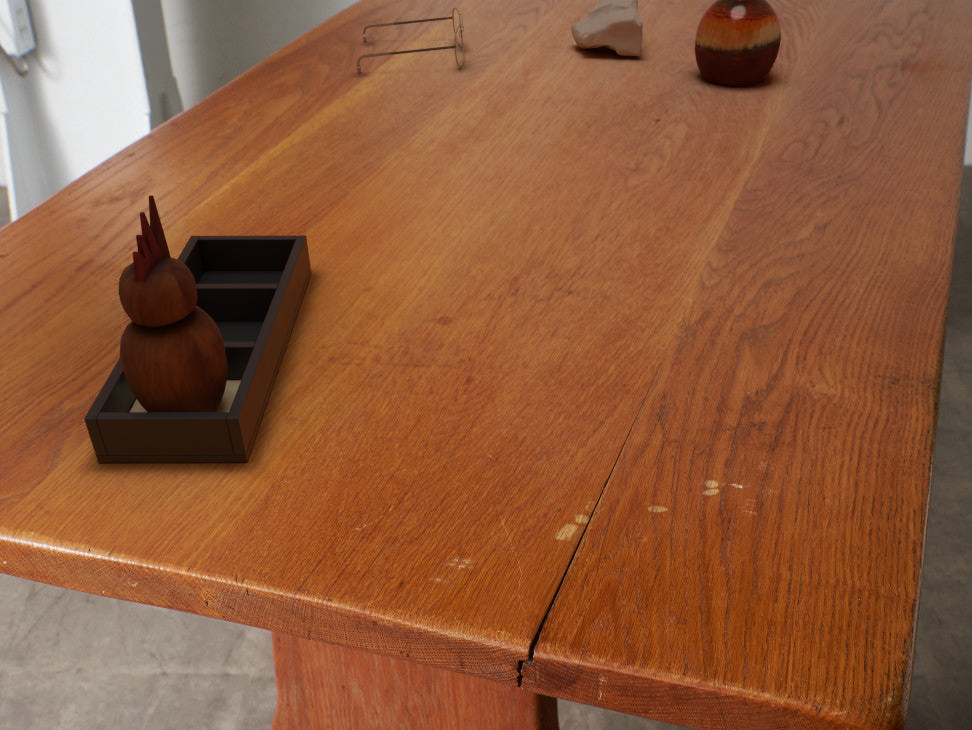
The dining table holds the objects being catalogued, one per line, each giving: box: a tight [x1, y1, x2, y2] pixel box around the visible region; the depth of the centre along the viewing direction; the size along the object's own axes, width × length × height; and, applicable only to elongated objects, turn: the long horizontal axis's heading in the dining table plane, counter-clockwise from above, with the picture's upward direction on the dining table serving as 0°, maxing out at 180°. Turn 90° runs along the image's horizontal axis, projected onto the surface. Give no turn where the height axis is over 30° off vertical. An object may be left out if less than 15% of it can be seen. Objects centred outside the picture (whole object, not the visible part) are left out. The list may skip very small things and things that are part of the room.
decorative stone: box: [571, 0, 644, 57], centre depth 144 cm, size 11×9×10 cm
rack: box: [83, 234, 312, 464], centre depth 78 cm, size 10×29×4 cm, turn 0°
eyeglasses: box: [356, 7, 465, 74], centre depth 143 cm, size 16×15×5 cm
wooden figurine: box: [118, 194, 228, 412], centre depth 67 cm, size 7×6×15 cm
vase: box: [694, 0, 782, 87], centre depth 131 cm, size 11×11×15 cm
